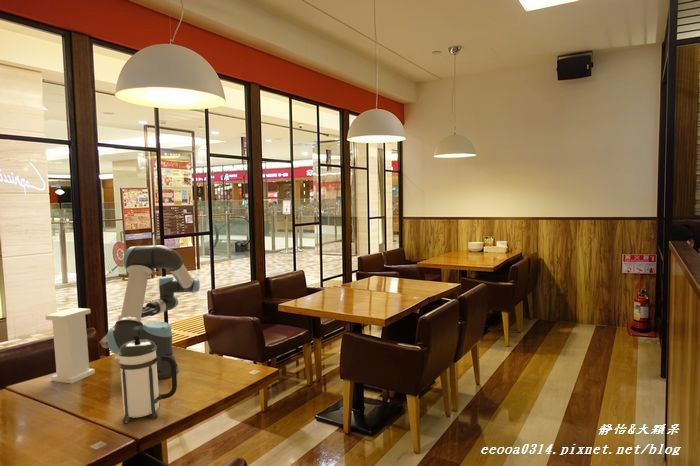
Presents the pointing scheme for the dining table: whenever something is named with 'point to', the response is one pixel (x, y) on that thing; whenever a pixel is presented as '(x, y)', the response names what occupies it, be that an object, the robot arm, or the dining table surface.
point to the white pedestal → (70, 345)
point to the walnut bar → (105, 341)
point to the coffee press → (142, 378)
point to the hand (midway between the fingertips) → (122, 318)
